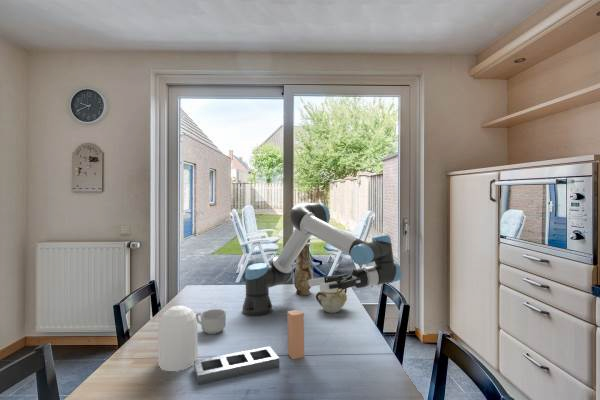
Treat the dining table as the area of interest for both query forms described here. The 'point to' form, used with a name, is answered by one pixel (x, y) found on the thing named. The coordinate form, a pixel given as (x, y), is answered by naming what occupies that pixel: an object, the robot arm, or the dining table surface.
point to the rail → (238, 369)
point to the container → (177, 339)
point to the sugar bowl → (332, 299)
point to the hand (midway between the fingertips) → (314, 285)
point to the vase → (302, 272)
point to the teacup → (212, 320)
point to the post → (295, 334)
